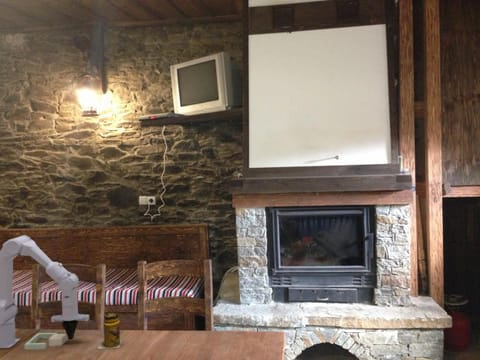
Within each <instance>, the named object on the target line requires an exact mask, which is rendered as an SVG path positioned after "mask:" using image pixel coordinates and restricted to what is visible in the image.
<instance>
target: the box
mask: <svg viewBox="0 0 480 360" xmlns="http://www.w3.org/2000/svg"><path fill="white" fill-rule="evenodd" d="M54 334H58V332H37V333H36V334H35V335H34V336H33V337H32V338H31V339H30V340H28V341H27V342H26V343H24V345H23V346H24V351H25V350H27V351H28V350H46V349H47V343H46V342H37V341H39V340H42V339H44V340H45V339H48V340H49V339H50V338H51V337H52V336H53V335H54Z"/></svg>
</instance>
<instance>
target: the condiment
mask: <svg viewBox="0 0 480 360" xmlns="http://www.w3.org/2000/svg"><path fill="white" fill-rule="evenodd" d="M103 320H104V322H103V340H100V342H99V345H97V350H102V349H103V350H105V349H116V348H117V349H118V348H121V345H122V342H123V339H121V329H120V325H121V324H120V323H121V322H120V320H119V314H118V313H117V312H109V313H106V314H105V315H104V319H103Z"/></svg>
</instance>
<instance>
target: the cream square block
mask: <svg viewBox="0 0 480 360" xmlns="http://www.w3.org/2000/svg"><path fill="white" fill-rule="evenodd" d="M66 342H67V333H57V334H54V335H53V336H52V337H51V338H50V339H48V347H63V345H64V344H65V343H66Z"/></svg>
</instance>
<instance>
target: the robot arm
mask: <svg viewBox="0 0 480 360" xmlns="http://www.w3.org/2000/svg"><path fill="white" fill-rule="evenodd" d="M19 255H20V256H25V257H27V256H28V257H31V258H33V259H34V261H36V262H37V263H38V264H40V265H41V266H42V267H44V269H45V273H46V274H47V275H48V276H49V277H50V278H52V279H51V280H54V282H55V283H57V284H58V289H59V290H60V291H61V310H62V314H59V315H52V316H51V318H50V319H51V320H50V321H51V323H55V322H62V324H61V326H62V328H63V329H64V330H65V334H66V337H67V339H68V340H69V341H71V340H73V339H74V338H75V334H76V329H77V326H78V324H79V322H81V321H82V322H83V321H85V322H88V321H89V320H90V315H89V314H85V313H84V314H82V313H79V310H78V309H79V306H78V285H79V283H80V279H79V277H78V275H77V274H75V273H72V272H70V271H68V270H67V269H66V268H65V267H64V266H63V264H62V262H58V261H52V260H51V259H50V258H49V256H48V255H47V254H45V253H44V251H43V250H42V249H40V247H39V246H38V245H37V244H36V241H35V240H33V239H31V237H30V236H28V235H20V236H18V237H15V238H10V239H8V240H7V241H5V242H3V244H2V248H1V249H0V349H10V348H12V347H13V346H14V345H15V344H17V343H18V342H19V341H20V340H21V338H16V321H15V319H16V315H17V314H18V306H17V304H16V302H17V301H16V299H15V297H13V295H14V293H13V290H14V289H13V287H14V285H13V283H14V282H13V281H14V277H13V276H14V259H15V258H16V257H18V256H19Z"/></svg>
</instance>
